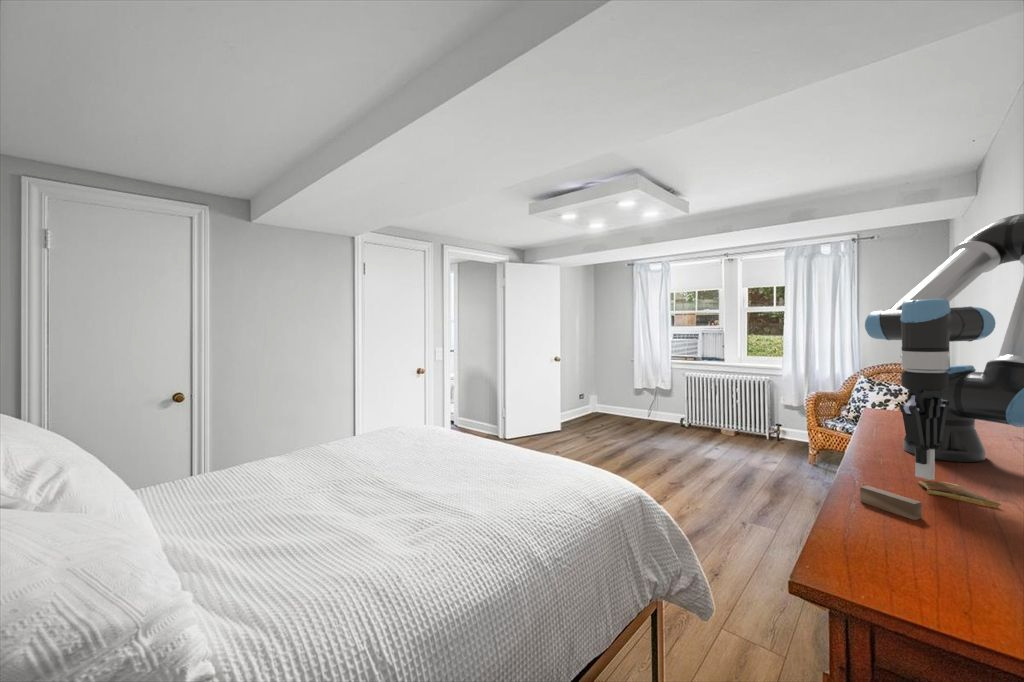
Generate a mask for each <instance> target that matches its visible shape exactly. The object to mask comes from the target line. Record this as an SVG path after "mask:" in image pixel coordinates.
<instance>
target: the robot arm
mask: <svg viewBox="0 0 1024 682" xmlns="http://www.w3.org/2000/svg"><path fill="white" fill-rule="evenodd" d="M1018 261H1020V263H1021V264H1022V265H1024V213H1019V214H1014V215H1010V216H1007V217H1004V218H1001V219H999V220H996V221H994V222H992V223H990V224H987V225H985V226H983V227H982V228H980V229H978V230H977V231H975V232H974V233H972V234H971V235H969V236H968V237H966V238H965V239H964V240H962V241H961V242H960V243H959V244H957V245H956V246H955V247H953V249H952V251H951V255H950V257H948V258H947V259H946V260H945V261H944V262H943V263H942V264H940V265H939V266H938V267H937V268H936V269H934V270H933V271H932V272H930V274H928V275H927V276H926V277H925V278H924V279H923V280H921V281H920V282H919V283H918V284H917V285H916V286H915V287H913V288H912V289H911V290H909V291H908V293H906V294H905V295H904V296H903V297H902V298H900V299H899V300H898V301H896V303H895V304H893V305H892V306H891V307H890V308H888V309H880V310H875V311H871V312H870V313H868V314H867V316H866V318H865V321H864V328H865V329H864V330H865V332H866V333H867V335H868V336H869V337H871V338H872V339H876V340H886V341H901V354H900V358H901V368H902V369H904V370H902V371H901V373H900V376H901V380H900V381H901V386H902V388H904V389H907V390H908V394H907V402H906V403H900V404H899V405H898V406H899V409H900V412H901V414H902V420H903V425H904V430H905V431H904V433H905V436H904V438H903V442H902V445H903V450H904V451H906V452H907V453H909V454H912V455H914V456H915V457H914V464H915V465H914V467H915V468H914V473H915V476H914V477H916V478H921V479H924V480H927V481H935V479H936V475H935V473H936V469H935V468H936V465H935V463H936V461H935V460H941V461H946V462H947V461H948V462H957V463H976V462H978V463H979V462H983V461H985V460H986V450H985V447H984V445H983V442H982V441H981V438H980V436H979V434H978V432H977V430H976V427H975V426H976V424H975V422H976V421H984V422H990V423H995V424H996V423H997V424H1003V425H1008V426H1013V427H1016V428H1024V276H1023V278H1022V281H1021V284H1020V287H1019V290H1018V293H1017V297H1016V299H1015V303H1014V306H1013V310H1012V313H1011V316H1010V318H1009V319H1010V320H1009V321H1008V322H1009V323H1008V325H1007V329H1006V331H1005V335H1004V338H1003V342H1002V344H1001V347H1000V351H999V354H998V356H997V357H996V358H993V359H991V360H989V361H987V362H986V364H985V368H984V370H983V372H981V371H976V368H975V367H974V365H971V364H970V365H969V364H961V365H951V364H950V363H951V362H950V360H951V359H950V356H951V355H950V354H951V353H950V342H952V343H953V342H973V341H978V340H979V341H980V340H983V339H985V338H987V337H988V336H990V335H991V334H992V333H993V332H994V330H995V328H996V324H997V323H996V318H995V317H994V315H993V314H992V313H991V312H990V311H989V310H987V309H985V308H983V307H976V306H960V307H958V306H957V307H950V302H951V301H952V300H953V299H954V298H956V296H958V295H959V294H960V293H961V292H963V290H965V289H966V288H967V287H968V286H970V284H972V283H973V282H974V281H975V280H976V279H977V278H979V277H980V276H981V275H982V274H984V273H988V272H991V271H993V270H994V269H996V268H997V267H998V266H1000V265H1002V264H1007V263H1011V262H1018ZM975 420H976V421H975Z"/></svg>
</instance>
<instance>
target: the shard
mask: <svg viewBox="0 0 1024 682" xmlns="http://www.w3.org/2000/svg"><path fill="white" fill-rule="evenodd" d="M919 484H920V485H921V486H922V487H923V488H926V492H927V494H929V495H932V496H933V495H935V496H939V497H945V498H949V499H954V500H956V501H962V502H966V503H971V504H975V505H980V506H983V507H990V508H994V509H999V507H1000V506H1001V503H998V502H996V501H995V500H992V499H989V498H987V497H985V496H984V495H982V494H980V493H978V492H975V491H973V490H971V489H969V488H967V487H966V486H962V485H960V484H958V483H957V484H956V483H955V484H954V483H951V482H949V481H947V482H946V481H940V480H939V481H938V480H937V481H936V480H920V481H919Z"/></svg>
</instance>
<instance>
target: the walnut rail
mask: <svg viewBox="0 0 1024 682" xmlns="http://www.w3.org/2000/svg"><path fill="white" fill-rule="evenodd" d="M859 491H860V492H859V493H860V498H859V499H860V503H864V504H867V505H870V506H872V507H875V508H878V509H880V510H883V511H886V512H890V513H892V514H895V515H898V516H901V517H905V518H907V519H910V520H913V521H917V520H921V519H923V516H922V515H923V513H922V511H923V507H922V506H923V505H922V504H923V503H922V501H919V500H917V499H916V500H915V499H913V498H910V497H906V496H902V495H899V494H897V493H893V492H890V491H887V490H883V489H880V488H877V487H873V486H871V485H863V486H862V485H861V486H859Z"/></svg>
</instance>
